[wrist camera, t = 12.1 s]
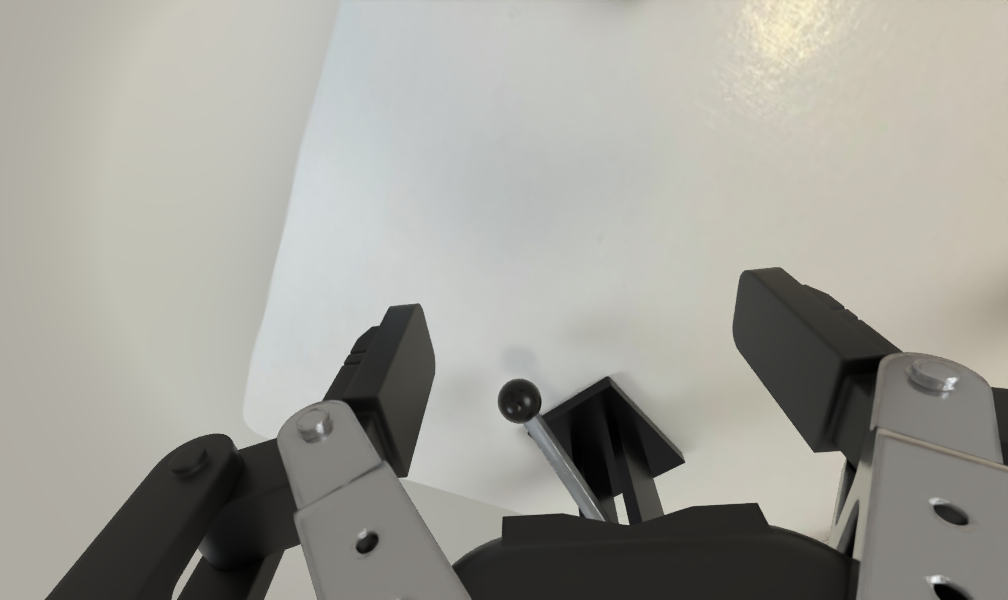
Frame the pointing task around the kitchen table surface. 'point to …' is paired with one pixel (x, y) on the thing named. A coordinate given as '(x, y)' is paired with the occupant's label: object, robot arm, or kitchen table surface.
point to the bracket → (614, 449)
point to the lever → (547, 442)
